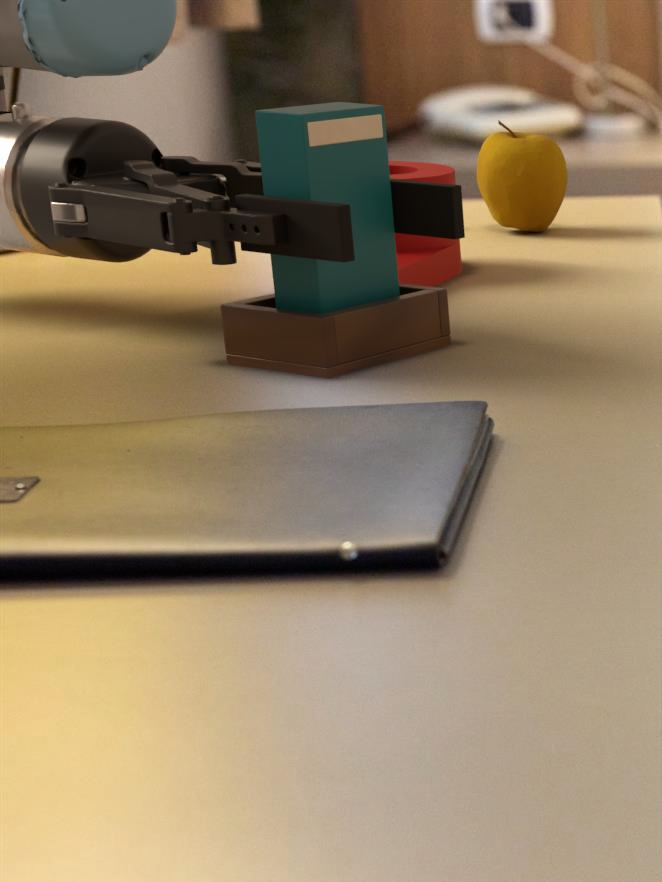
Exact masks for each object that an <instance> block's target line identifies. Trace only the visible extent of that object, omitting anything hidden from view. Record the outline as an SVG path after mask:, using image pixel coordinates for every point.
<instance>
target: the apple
mask: <svg viewBox="0 0 662 882" xmlns="http://www.w3.org/2000/svg"><path fill="white" fill-rule="evenodd" d="M497 122H498V125H499V126H501V127H502V128H504V129H505V130H506V131H497V132H494V133H492V134H490V135H489V136H488V137H487V138H486V139H485V140H484V142H483V143H482V145H481V147H480V150H479V152H478V157H477V164H476V183H477V186H478V189H479V192H480V194H481V196H482V198H483V200H484V203H485V204H486V206H487V209H488V211H489V213H490V215H491V217H492V219H493V220H494V221H495V222H496V223H498V225H500V226H501V227H503V228H511V229H516V230H519V231H524V232H525V231H526V232H533V233H539V232H545V231H547V230H548V228H549V226H550V225H552V223H553V222H554V221H555V218H556V216H557V214H558V212H559V211H560V208H561V206H562V204H563V202H564V199H565V195H566V192H567V187H568V167H567V162H566V158H565V156H564V153H563V151H562V149H561V147H560V146H559V145H558V143H557V142H556V140H554V139H553V138H551V137H550V136H548V135H545V134H539V133H538V134H536V133H527V132H517V131H516V132H515V131H513V130H512V129H510V128H509V127H508V126H507V125H505V124H504V123H503V122H501V121H500V120H499V119H497Z"/></svg>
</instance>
